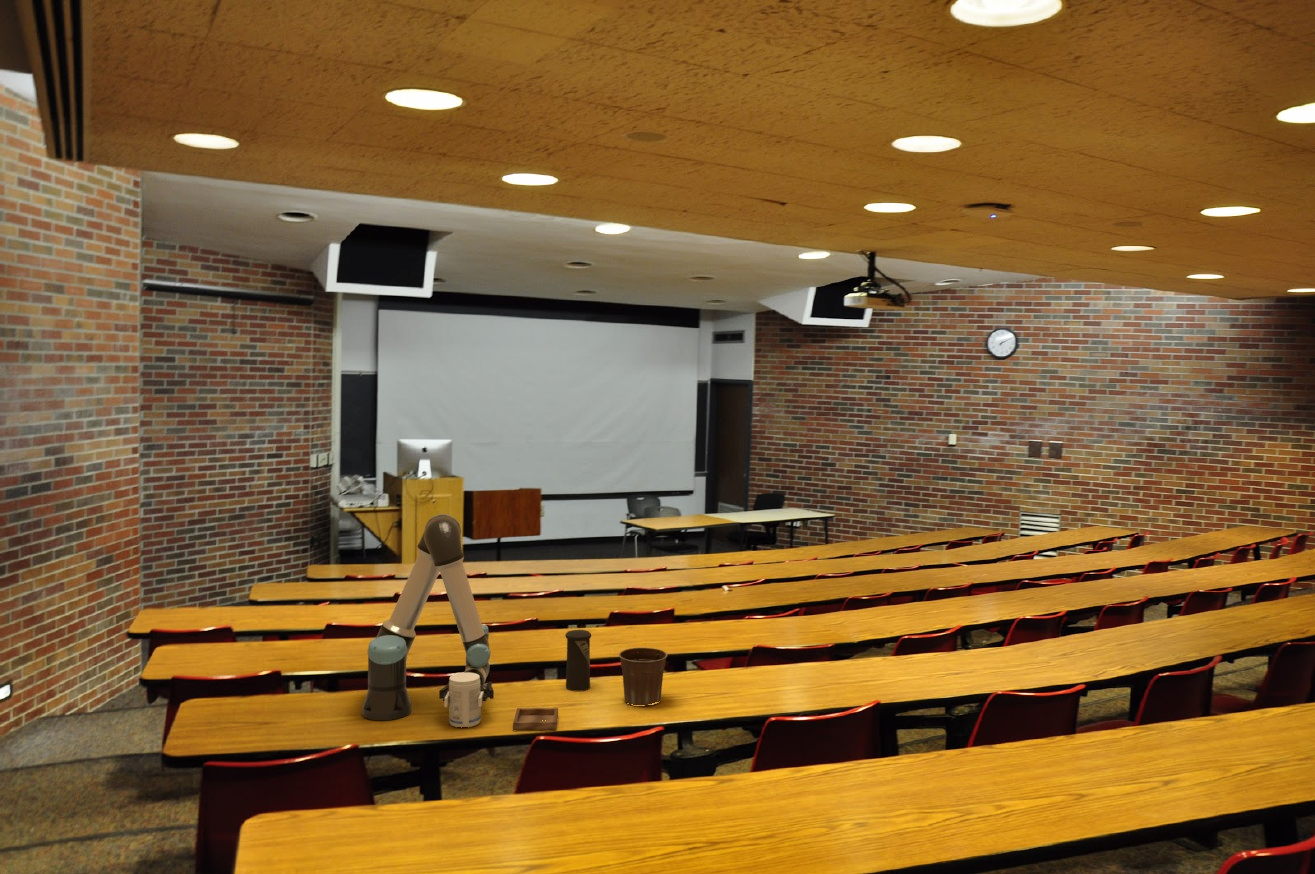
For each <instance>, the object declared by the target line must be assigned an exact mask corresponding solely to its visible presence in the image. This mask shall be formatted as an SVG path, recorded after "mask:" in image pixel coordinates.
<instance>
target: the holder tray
mask: <svg viewBox="0 0 1315 874" xmlns="http://www.w3.org/2000/svg"><path fill="white" fill-rule="evenodd" d="M557 719H559V708H558V707H540V708H539V707H531V708H530V707H523V708H522V707H517V708H516V712H515V715H514V718H513V722H512V731H513V730H556V731H557V727H558V720H557ZM542 720H543V721H542ZM545 720H546V721H545ZM556 726H557V727H556Z"/></svg>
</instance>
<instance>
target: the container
mask: <svg viewBox="0 0 1315 874" xmlns="http://www.w3.org/2000/svg"><path fill="white" fill-rule="evenodd" d="M591 637H592V632H590V631H588V630H584V629H573V630H569V631H567V632H566V633H565V639H566V672H565V673H566V675H565V677H566V678H565V687H566V689H567V690H569V689H570V690H569V691H573V690H583V691H587V690H589V689H590V688H591V666H590V665H591V660H590V659H591V658H590V657H591V656H590V654H591V652H590V650H591V649H590V647H591V645H590V643H591V642H590V639H591ZM588 688H589V689H588ZM586 689H587V690H586Z"/></svg>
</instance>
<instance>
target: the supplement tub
mask: <svg viewBox="0 0 1315 874" xmlns="http://www.w3.org/2000/svg"><path fill="white" fill-rule="evenodd" d="M448 680H449V681H448V684H449V704H448V708H449V709H448V711H449V712H448V713H449V714H448V715H449V717H448V719H449V724H450V726H452V727H454V726H455V727H454V728H457V727H461V728H460V729H463V728H462V727H468V728H473V727H475V726H477V725H479V724H480V722H481V720H482V717H481V716H482V715H481V714H482V713H481V712H482V711H481V709H482V706H481V707H478V698H479V696H480V676H479V675H478V674H476V673H464V672H458V673H454V674H453V675H450V676H449V679H448Z"/></svg>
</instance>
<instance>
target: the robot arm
mask: <svg viewBox="0 0 1315 874" xmlns="http://www.w3.org/2000/svg"><path fill="white" fill-rule="evenodd" d="M461 533H462V529H461V525H460V523H459V522H458V520H457V519H456V518H454V517H453V516H452V515H449V514H443V513H442V514H437V515H434V516H433V517H430V519H428V521H427V522H426V525H425V527H424V531H423V533H422V536H421V538H420V540H419V542H418V544H417V547H416V549H417V551H418V555H417V557H416V559H415V562H414V565H413V567H412V569H411V570H410V573H409V576H408V577H407V579H406V582H405V584H404V586H403V589H402V591H401V593H400V595H399V597H398V600H397V602H396V604H395V606H394V609H393V610H392V613H391V616H390V617H389V619H388V620H386V621H385V620H384V621H383V622H382V624H381V626H380V628H379V631H378V632H377V635H376V637H375V638H373V639H372V640H371V641H369V644H368V648H367V663H368V664H367V671H368V672H367V693H366V696H365V698H364V701H363V704H362V708H361V713H362V715H361V716H362V717H363V716H364V717H363V718H365V717H366V718H365V719H367V718H368V719H367V720H371V721H390V720H391V721H392V719H393V720H397V718H398V719H401V717H402V718H404V717H406V716H408V715H410V714H411V713H412V709H413V707H412V705H413V704H412V702H411V697H410V695H409V692H408V689H407V660H408V655H409V652H410V650H411V647H412V646H413V644H414V641H415V638H416V636H417V634H416V631H415V628H416V625H417V623H418V620H419V618H420V616H421V614H422V611H423V610H424V607H425V605H426V603H427V600H428V598H429V596H430V594H431V591H432V589H433V587H434V585H435V583H436V580H437V578H438V575H439V573H440V575H441V579H442V582H443V585H444V587H445V592H446V594H447V597H448V600H449V604H450V607H451V610H452V613H453V617H454V620H455V623H456V625H457V629H458V632H459V636H460V638H461V642H462V645H463V649H464V652H465V670H464V671H463V673H476V674H478V675H479V676H480V696H479V698H478V707H481V708H482V706H483V702H487V700H488V698H489V699H490V700H492V699H493V700H494V694H495V693H494V688H493V683H492V681H488V682H486V679H487V677H488V676H489V674H490V667H491V666H490V662H489V661H490V658H491V653H492V652H491V650H490V649H491V648H490V643H489V642H490V641H489V637H490V636H489V635H490V634H489V627H488V626H487V625H486V624H482V620H481V618H480V615H479V611H478V607H477V604H476V602H475V598H474V594H473V593H472V589H471V586H470V582H469V580H468V575H467V573H466V569H465V566H464V563H463V561H464V558H465V556H464V555H465V554H464V552H463V550H462V541H461V539H462V537H461V536H462V535H461ZM485 682H486V683H485ZM438 693H439V694H438V697H439V699H440V700H442V702H444V708H448V707H449V683H447V684H446V685H445V686H444V687H442V688H441V689H439V692H438ZM403 716H404V717H403Z"/></svg>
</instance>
